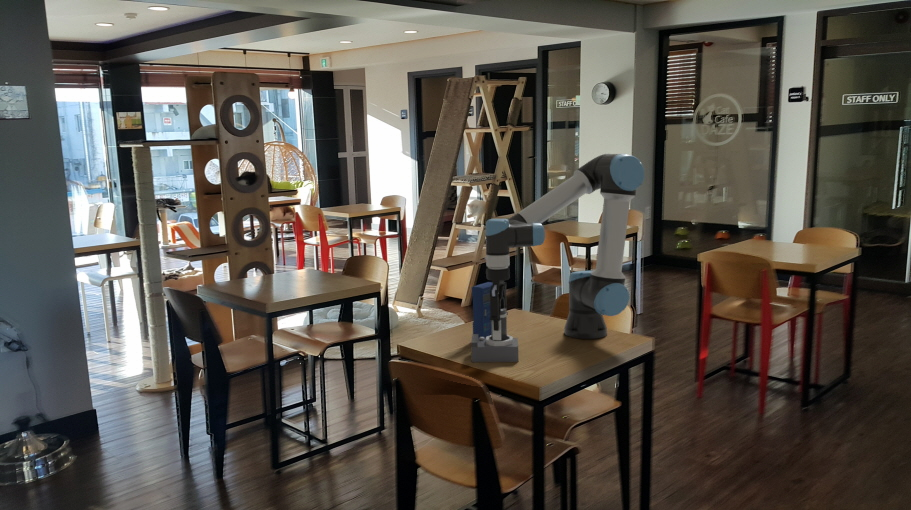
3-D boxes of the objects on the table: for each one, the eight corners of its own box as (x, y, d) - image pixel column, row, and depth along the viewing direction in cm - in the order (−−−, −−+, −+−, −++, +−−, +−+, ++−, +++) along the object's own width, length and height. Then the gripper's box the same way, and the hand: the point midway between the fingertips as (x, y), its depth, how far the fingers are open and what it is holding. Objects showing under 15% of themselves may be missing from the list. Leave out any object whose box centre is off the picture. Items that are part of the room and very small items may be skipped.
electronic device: (483, 343, 247) (482, 287, 244) (472, 341, 251) (470, 286, 247) (499, 337, 255) (498, 283, 251) (488, 335, 258) (486, 281, 255)
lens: (508, 337, 232) (508, 308, 231) (504, 342, 227) (504, 311, 226) (493, 336, 234) (492, 307, 232) (489, 341, 229) (488, 311, 227)
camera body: (517, 352, 236) (517, 333, 235) (518, 361, 226) (518, 342, 225) (472, 352, 237) (472, 334, 236) (471, 362, 227) (471, 342, 226)
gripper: (493, 261, 236) (494, 329, 240) (479, 272, 219) (480, 344, 223) (515, 262, 234) (516, 330, 238) (502, 272, 217) (504, 345, 221)
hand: (499, 337), depth 230 cm, fingers closed on lens, 5 cm apart
